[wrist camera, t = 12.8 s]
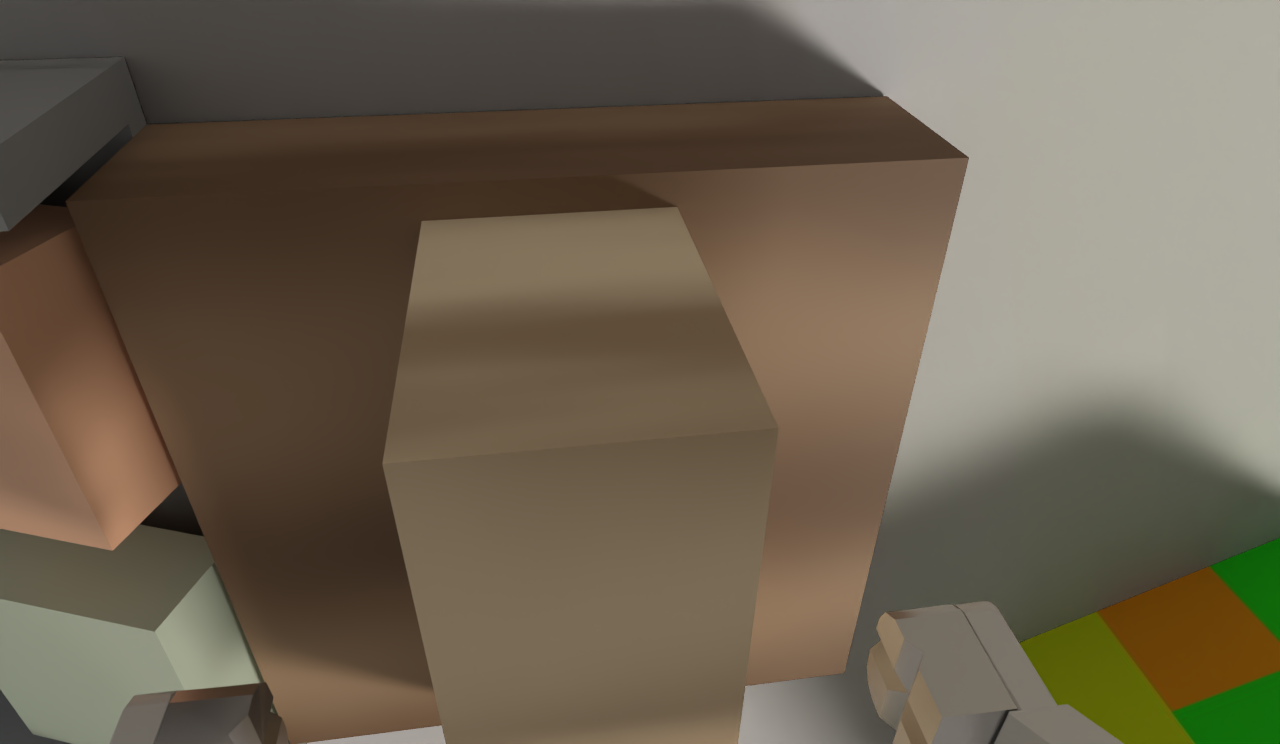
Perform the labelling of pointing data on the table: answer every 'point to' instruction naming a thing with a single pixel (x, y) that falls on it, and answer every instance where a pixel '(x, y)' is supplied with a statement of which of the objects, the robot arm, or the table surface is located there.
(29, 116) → the tray
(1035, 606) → the table surface
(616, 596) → the tall wooden pillar
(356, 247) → the brown wooden block
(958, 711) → the robot arm
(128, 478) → the tile terracotta
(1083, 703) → the puzzle toy
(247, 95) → the table surface
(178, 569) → the tile sage
